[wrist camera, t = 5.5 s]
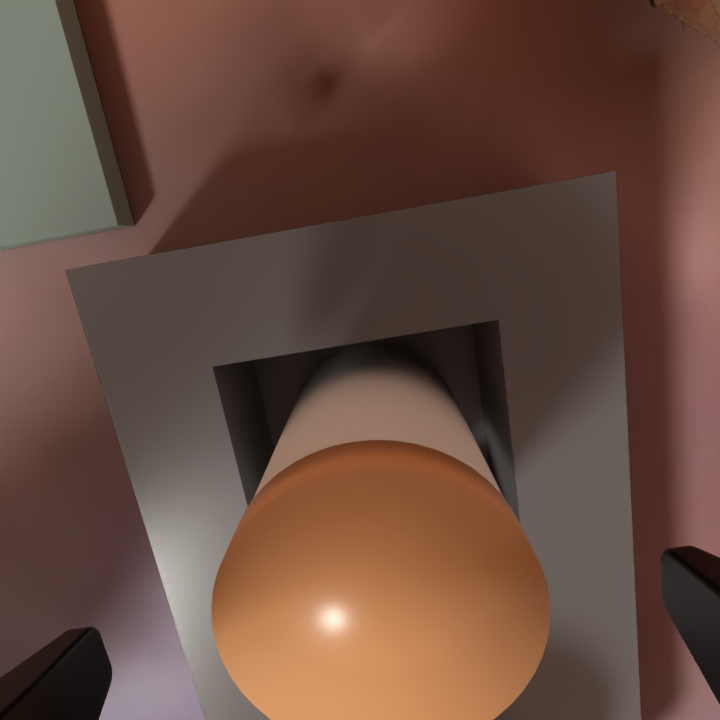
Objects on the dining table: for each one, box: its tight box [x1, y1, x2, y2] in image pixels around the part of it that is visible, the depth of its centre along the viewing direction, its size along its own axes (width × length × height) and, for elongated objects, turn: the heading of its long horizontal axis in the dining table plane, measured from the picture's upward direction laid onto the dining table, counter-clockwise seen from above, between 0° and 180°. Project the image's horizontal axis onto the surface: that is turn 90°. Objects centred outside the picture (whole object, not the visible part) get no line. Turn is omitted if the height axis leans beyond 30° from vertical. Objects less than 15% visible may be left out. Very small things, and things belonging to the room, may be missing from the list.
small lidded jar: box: [211, 343, 550, 720], centre depth 12 cm, size 5×5×8 cm
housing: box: [65, 171, 641, 720], centre depth 15 cm, size 12×22×4 cm, turn 10°
